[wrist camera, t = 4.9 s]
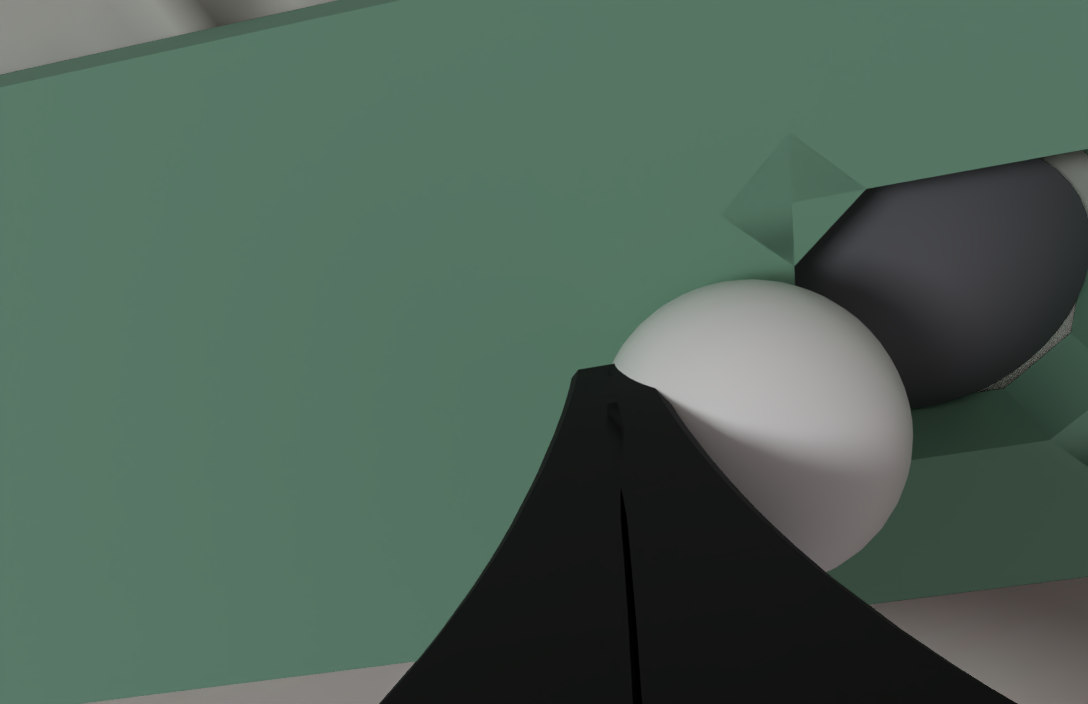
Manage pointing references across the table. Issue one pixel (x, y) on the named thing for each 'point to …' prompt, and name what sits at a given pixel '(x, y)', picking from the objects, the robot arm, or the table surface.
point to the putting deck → (496, 299)
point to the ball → (784, 406)
